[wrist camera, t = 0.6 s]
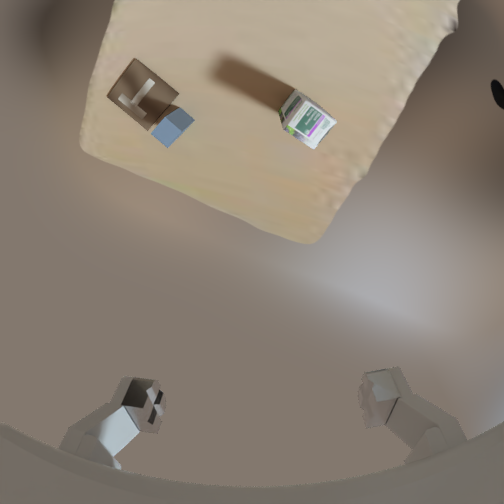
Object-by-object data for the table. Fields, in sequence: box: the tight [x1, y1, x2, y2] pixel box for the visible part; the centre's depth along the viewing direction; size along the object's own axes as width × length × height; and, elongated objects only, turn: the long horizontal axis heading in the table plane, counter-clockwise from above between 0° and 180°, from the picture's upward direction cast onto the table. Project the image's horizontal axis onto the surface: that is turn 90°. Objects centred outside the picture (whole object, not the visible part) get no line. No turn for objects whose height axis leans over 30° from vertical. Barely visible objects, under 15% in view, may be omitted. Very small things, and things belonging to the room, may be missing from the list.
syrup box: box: [278, 89, 337, 150], centre depth 42 cm, size 6×6×14 cm
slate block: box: [151, 108, 194, 148], centre depth 47 cm, size 4×4×9 cm
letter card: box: [108, 59, 179, 131], centre depth 46 cm, size 10×12×1 cm
